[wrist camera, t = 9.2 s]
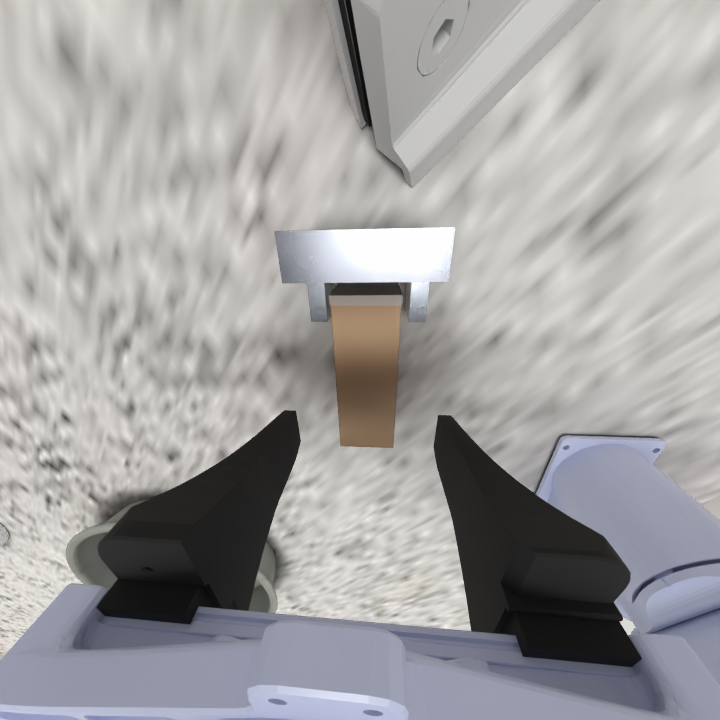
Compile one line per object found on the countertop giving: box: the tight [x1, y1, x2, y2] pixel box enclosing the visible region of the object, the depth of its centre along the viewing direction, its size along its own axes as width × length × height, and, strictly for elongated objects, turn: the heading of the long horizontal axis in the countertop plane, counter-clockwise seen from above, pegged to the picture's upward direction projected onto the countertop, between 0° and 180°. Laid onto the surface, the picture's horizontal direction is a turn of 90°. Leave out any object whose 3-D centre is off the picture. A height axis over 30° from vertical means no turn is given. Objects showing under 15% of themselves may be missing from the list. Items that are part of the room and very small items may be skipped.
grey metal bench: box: [275, 227, 455, 322], centre depth 14 cm, size 5×7×6 cm
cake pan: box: [66, 499, 278, 613], centre depth 32 cm, size 25×25×4 cm
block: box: [329, 282, 403, 448], centre depth 17 cm, size 10×4×5 cm, turn 1°
